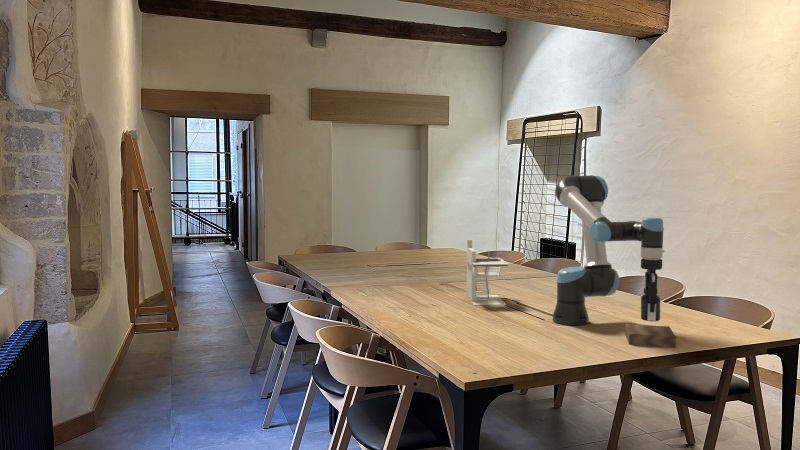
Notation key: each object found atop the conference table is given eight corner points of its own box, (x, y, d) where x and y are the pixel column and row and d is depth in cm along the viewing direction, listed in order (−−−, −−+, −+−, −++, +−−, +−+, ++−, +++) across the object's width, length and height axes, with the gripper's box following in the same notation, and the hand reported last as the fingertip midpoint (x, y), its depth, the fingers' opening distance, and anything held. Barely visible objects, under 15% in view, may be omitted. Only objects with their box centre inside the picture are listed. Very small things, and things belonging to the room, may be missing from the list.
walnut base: (629, 344, 219) (629, 333, 219) (625, 333, 235) (625, 323, 234) (675, 347, 215) (676, 336, 215) (668, 336, 230) (669, 326, 230)
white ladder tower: (510, 305, 290) (511, 245, 288) (473, 305, 290) (474, 245, 288) (500, 295, 317) (501, 239, 315) (466, 295, 317) (467, 239, 315)
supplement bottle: (655, 317, 228) (655, 286, 227) (663, 321, 221) (664, 290, 220) (637, 317, 227) (638, 287, 227) (645, 321, 221) (646, 290, 220)
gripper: (666, 262, 212) (664, 324, 214) (658, 255, 231) (657, 313, 233) (644, 261, 214) (642, 323, 216) (638, 255, 233) (636, 312, 235)
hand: (650, 318), depth 224 cm, fingers closed on supplement bottle, 7 cm apart
